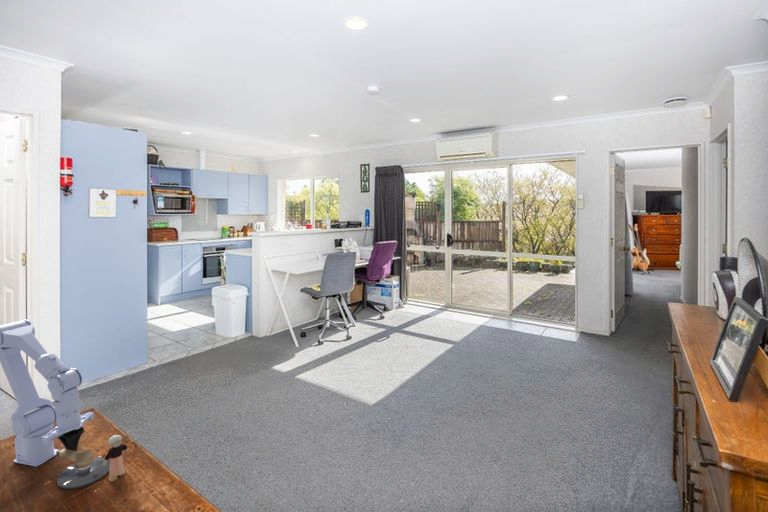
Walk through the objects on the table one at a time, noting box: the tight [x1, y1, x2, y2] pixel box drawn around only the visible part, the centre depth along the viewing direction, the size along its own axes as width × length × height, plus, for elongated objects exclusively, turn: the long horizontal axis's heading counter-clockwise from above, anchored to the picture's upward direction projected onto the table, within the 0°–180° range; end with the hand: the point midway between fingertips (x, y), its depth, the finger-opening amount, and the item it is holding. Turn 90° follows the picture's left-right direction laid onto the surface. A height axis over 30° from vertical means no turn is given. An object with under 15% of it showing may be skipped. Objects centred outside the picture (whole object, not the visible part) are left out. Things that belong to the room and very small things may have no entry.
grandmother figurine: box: [102, 434, 130, 482], centre depth 121 cm, size 8×4×13 cm, turn 168°
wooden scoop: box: [55, 447, 94, 468], centre depth 122 cm, size 11×4×3 cm, turn 77°
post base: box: [56, 457, 110, 490], centre depth 121 cm, size 13×13×3 cm
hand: (72, 452), depth 124 cm, fingers closed
